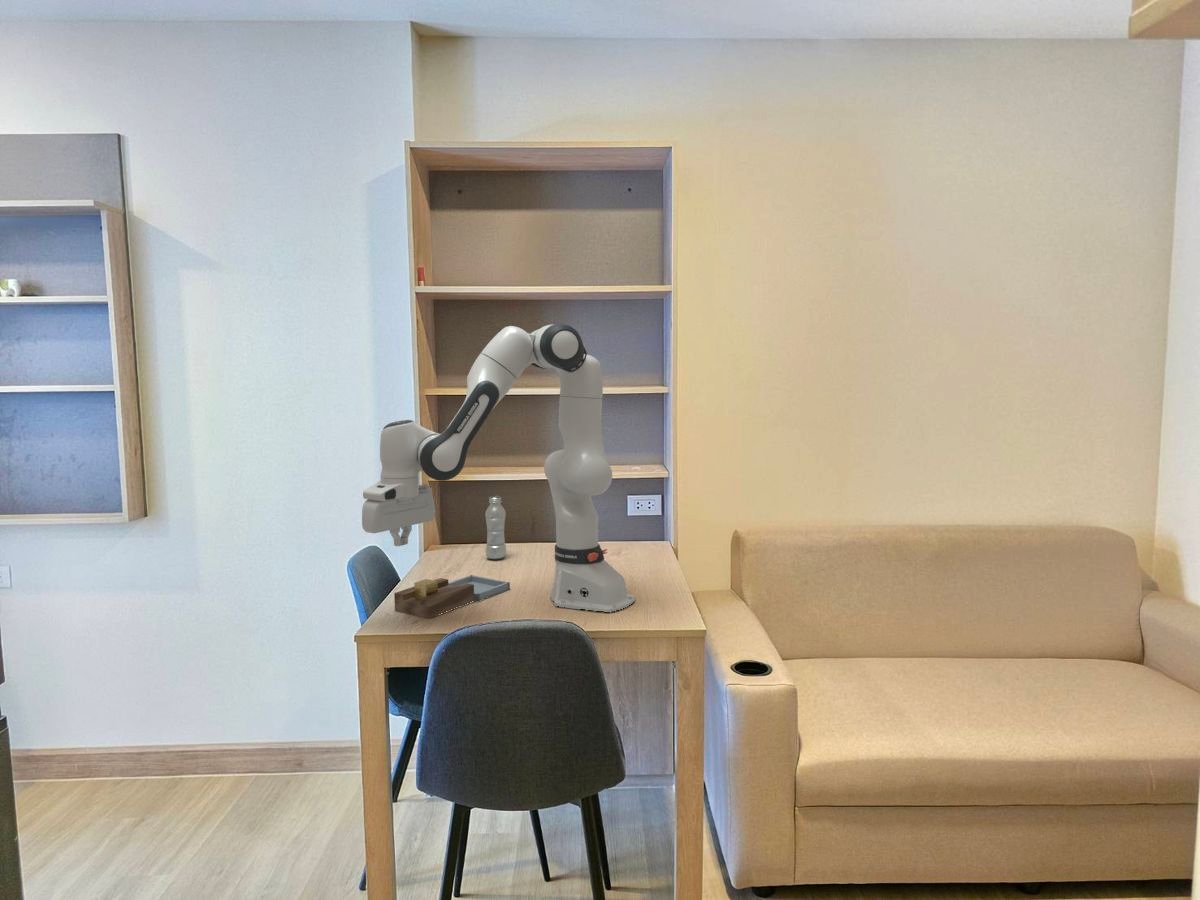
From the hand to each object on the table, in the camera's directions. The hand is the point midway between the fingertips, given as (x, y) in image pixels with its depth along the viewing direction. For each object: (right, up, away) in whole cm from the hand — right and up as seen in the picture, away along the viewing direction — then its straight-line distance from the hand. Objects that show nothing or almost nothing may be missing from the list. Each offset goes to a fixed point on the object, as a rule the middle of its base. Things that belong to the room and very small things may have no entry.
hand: (401, 545), depth 179 cm
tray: (+14, -16, +23) cm, 31 cm away
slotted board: (+6, -17, +11) cm, 21 cm away
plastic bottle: (+15, -12, +58) cm, 61 cm away
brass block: (+4, -14, +8) cm, 17 cm away
